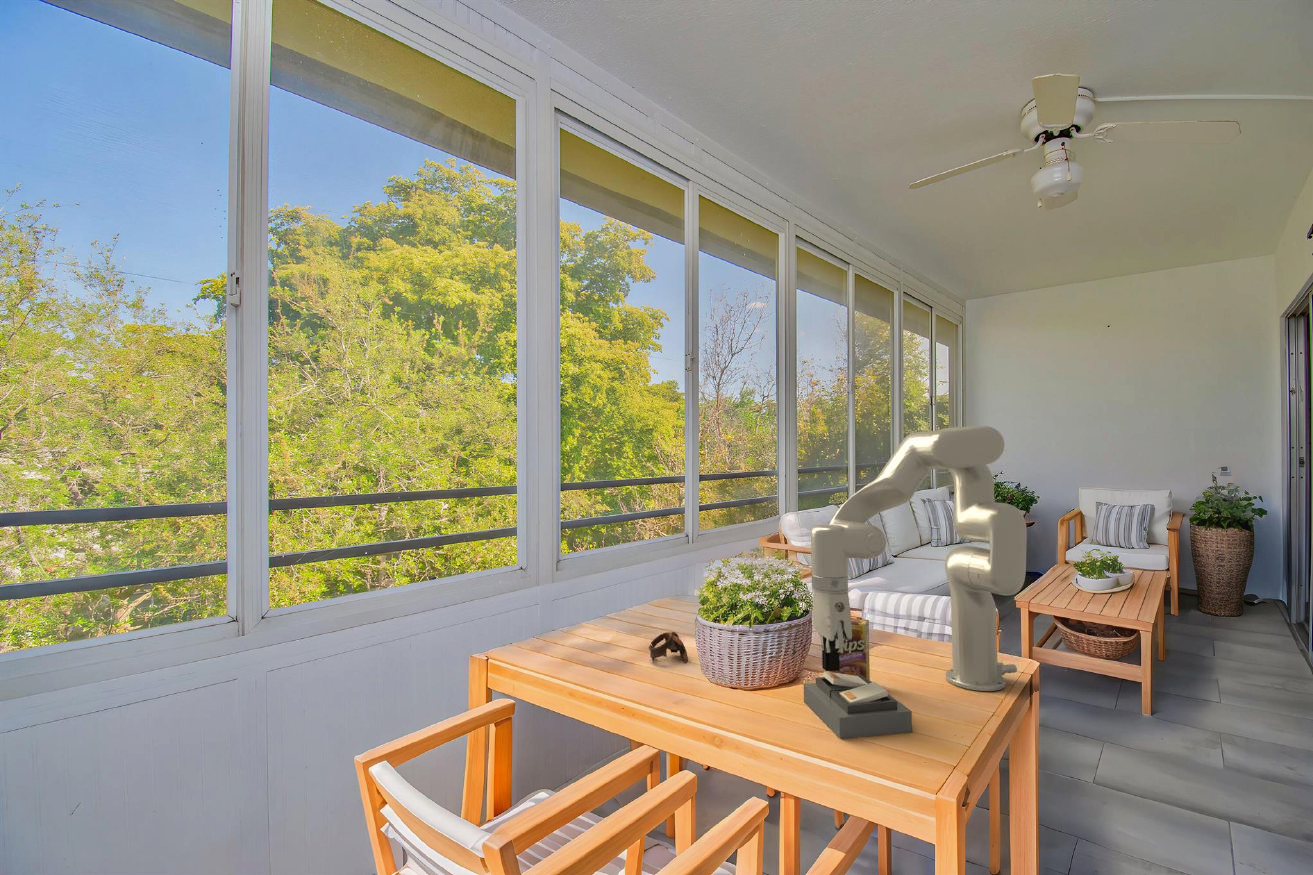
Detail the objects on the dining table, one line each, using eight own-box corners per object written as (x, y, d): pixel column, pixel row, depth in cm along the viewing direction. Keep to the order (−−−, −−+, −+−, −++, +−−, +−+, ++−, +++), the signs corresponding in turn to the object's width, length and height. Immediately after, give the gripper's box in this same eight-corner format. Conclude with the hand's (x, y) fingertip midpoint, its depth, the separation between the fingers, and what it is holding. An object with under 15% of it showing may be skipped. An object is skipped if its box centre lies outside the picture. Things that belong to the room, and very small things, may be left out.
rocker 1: (857, 680, 139) (857, 675, 139) (868, 689, 134) (869, 683, 134) (822, 675, 138) (823, 670, 138) (832, 684, 133) (833, 678, 133)
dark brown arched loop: (688, 668, 164) (672, 642, 163) (657, 682, 166) (641, 656, 165) (694, 642, 175) (679, 618, 174) (665, 655, 178) (650, 631, 177)
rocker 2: (875, 686, 131) (874, 680, 131) (888, 695, 126) (886, 689, 126) (840, 697, 130) (839, 691, 130) (851, 707, 125) (850, 701, 125)
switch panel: (867, 696, 142) (867, 671, 142) (912, 731, 124) (911, 702, 124) (803, 701, 140) (803, 676, 140) (839, 738, 122) (839, 709, 122)
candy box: (828, 683, 150) (826, 618, 151) (832, 677, 154) (831, 614, 154) (867, 690, 146) (865, 623, 146) (870, 683, 150) (869, 618, 150)
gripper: (862, 590, 129) (864, 681, 129) (831, 575, 144) (832, 657, 144) (827, 591, 128) (829, 683, 128) (799, 577, 143) (800, 659, 142)
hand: (830, 669), depth 136 cm, fingers closed
